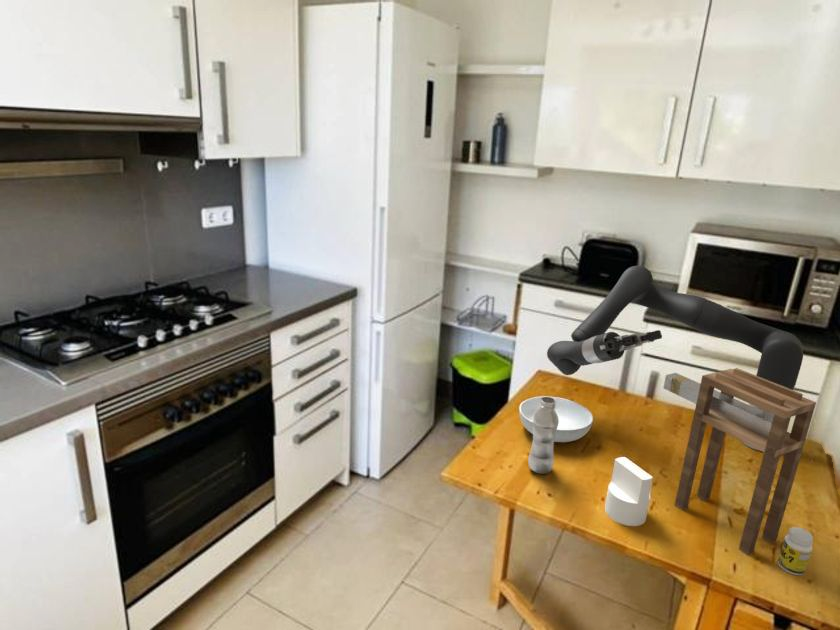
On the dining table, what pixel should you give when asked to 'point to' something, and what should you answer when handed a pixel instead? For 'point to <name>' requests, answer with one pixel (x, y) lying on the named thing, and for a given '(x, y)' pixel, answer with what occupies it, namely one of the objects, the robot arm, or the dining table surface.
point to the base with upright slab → (628, 493)
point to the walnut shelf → (777, 443)
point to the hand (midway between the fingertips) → (648, 336)
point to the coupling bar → (722, 405)
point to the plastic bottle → (543, 436)
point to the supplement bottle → (796, 551)
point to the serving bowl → (560, 418)
